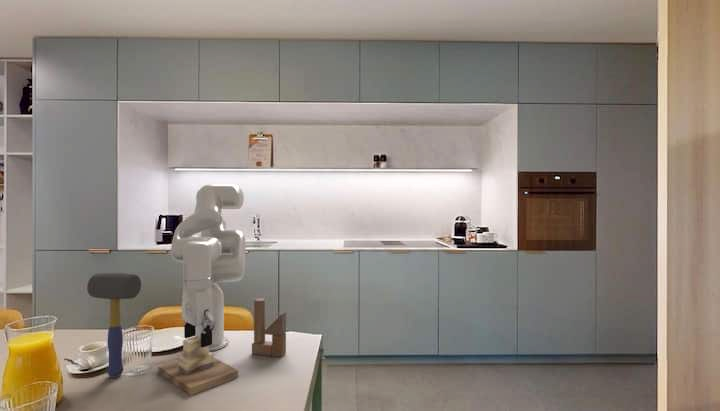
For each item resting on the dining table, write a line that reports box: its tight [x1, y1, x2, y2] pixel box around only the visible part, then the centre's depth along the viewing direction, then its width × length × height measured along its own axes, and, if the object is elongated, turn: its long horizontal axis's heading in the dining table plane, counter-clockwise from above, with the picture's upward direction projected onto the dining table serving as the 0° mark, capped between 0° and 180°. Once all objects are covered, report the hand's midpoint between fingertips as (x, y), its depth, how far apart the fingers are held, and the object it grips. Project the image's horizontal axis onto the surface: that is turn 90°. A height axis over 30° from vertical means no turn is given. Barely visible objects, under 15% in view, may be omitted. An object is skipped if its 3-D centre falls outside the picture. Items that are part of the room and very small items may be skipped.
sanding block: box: [178, 335, 214, 375], centre depth 115 cm, size 8×5×9 cm, turn 139°
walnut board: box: [157, 356, 239, 396], centre depth 115 cm, size 20×14×2 cm
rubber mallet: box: [86, 272, 142, 378], centre depth 113 cm, size 12×8×30 cm, turn 84°
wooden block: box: [251, 297, 287, 358], centre depth 130 cm, size 4×11×18 cm, turn 78°
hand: (198, 341), depth 115 cm, fingers open, 9 cm apart
